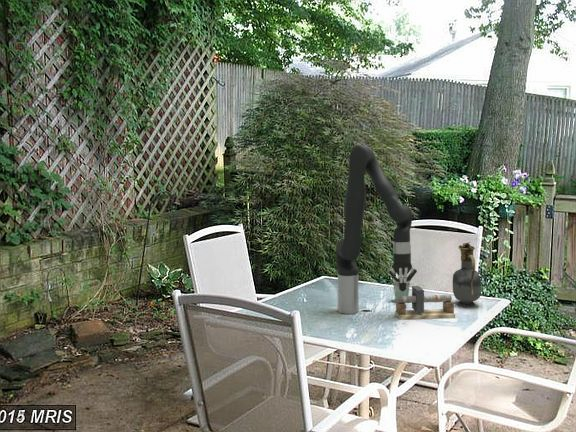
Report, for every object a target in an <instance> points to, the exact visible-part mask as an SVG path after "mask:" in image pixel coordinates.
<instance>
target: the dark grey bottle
mask: <svg viewBox="0 0 576 432" xmlns="http://www.w3.org/2000/svg"><path fill="white" fill-rule="evenodd" d="M470 243H471V241H469V242H463V243H462V244H461V245H458V247H457V248H458V250H460V263H461V265H460V266H461V267H460V269H457V270H456V271H455V272H454V273H453V274H452V294H453V296H454V298H455V299H456V300H458V302H457V303H458V305H459V306H461V307H474V306H475V305H476V304H475V301H477V300H479V299H480V298H481V295H482V279H481V276H480V273H479V272H478V271H477V270H476V259H475V257H474V251H475V249H476V247H475V246H473V245H471V244H470Z"/></svg>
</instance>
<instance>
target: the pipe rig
mask: <svg viewBox="0 0 576 432" xmlns="http://www.w3.org/2000/svg"><path fill="white" fill-rule="evenodd" d="M452 297H453V296H452V294H433V295H432V294H431V295H430V294H429V295H426V294H425V295H424V303H442V308H436V309H435V308H433V309H431V308H430V309H427V308H426V309H425V308H424V313H417V312H416V311H415V310H414V309H407V304H412V303H416V296H412V295H408V296H398V302H396V301H395V309H394V315H396V317H397V318H398V320H400V321H401V320H402V321H403V320H426V319H427V320H429V319H437V320H438V319H455V318H456V313H455V303H454V302H453V301H452Z"/></svg>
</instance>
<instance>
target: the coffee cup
mask: <svg viewBox="0 0 576 432" xmlns="http://www.w3.org/2000/svg"><path fill="white" fill-rule="evenodd" d="M395 276H396V278H397V279H398V275H395ZM408 276H409V275H407V277H408ZM402 278H403V276H402ZM392 282H393V290H394V291H393V292H394V299H395V300H394V301H395V303H396V302H398V296H410V295H409V293H410V285H411V284H410V283H411V280H410V281H408V282H406V290H405V291H400V290H399V282H396V281H395V280H394V279H393V278H392Z"/></svg>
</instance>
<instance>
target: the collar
mask: <svg viewBox="0 0 576 432" xmlns="http://www.w3.org/2000/svg"><path fill="white" fill-rule="evenodd" d="M411 296H416V303H411V308H412V310H415V311H416V312H417V313H424V310H425V302H424V296H425V290H424V288H422V287H420V286H419V285H412V286H411Z"/></svg>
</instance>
